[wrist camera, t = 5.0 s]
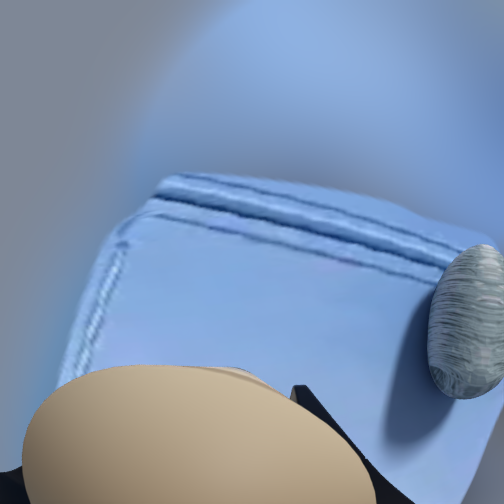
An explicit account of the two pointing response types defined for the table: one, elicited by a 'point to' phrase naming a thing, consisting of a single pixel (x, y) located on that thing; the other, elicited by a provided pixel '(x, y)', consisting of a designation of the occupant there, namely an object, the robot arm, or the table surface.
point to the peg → (185, 443)
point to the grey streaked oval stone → (468, 324)
